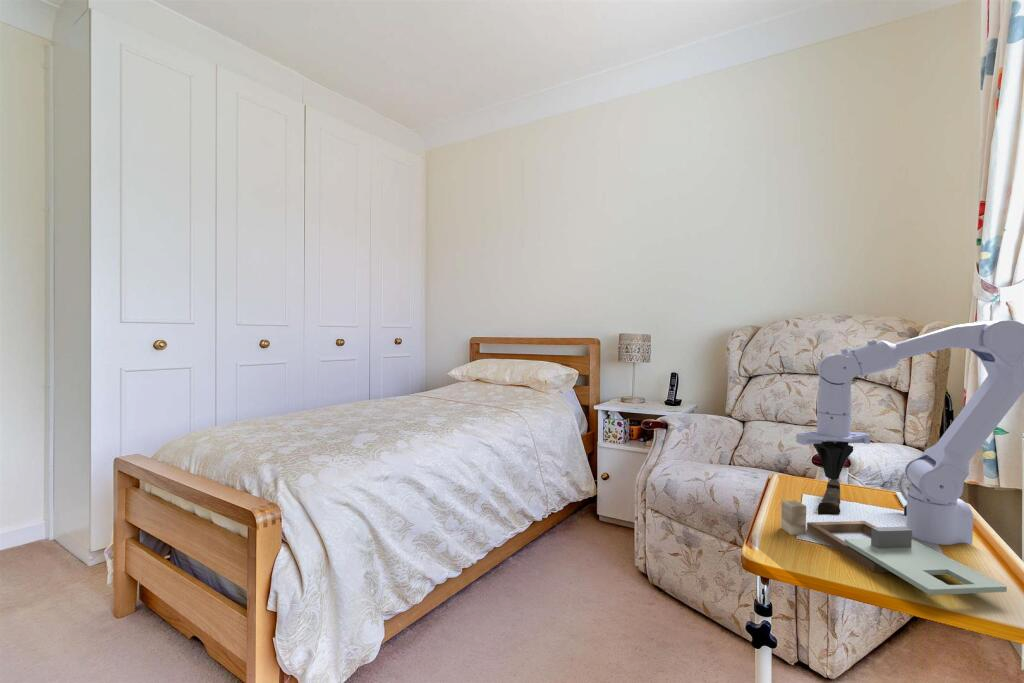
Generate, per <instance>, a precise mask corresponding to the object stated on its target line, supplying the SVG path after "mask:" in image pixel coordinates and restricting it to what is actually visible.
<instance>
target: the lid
mask: <svg viewBox="0 0 1024 683" xmlns="http://www.w3.org/2000/svg"><path fill="white" fill-rule="evenodd" d="M870 536H871V537H868V538H867V537H866V538H845V539H844V541H845V542H844V544H846V545H848V546H849V547H851V548H853V549H854V550H856V551H858V552H859V553H861V554H863V555H864V556H866V557H867V558H869V559H871V560H872V561H874V562H876V563H877V564H879V565H881V566H882V567H884V568H886V569H887V570H889V571H891V572H890V573H892V574H894V575H896V576H898V577H899V578H900V579H902V580H904V581H906V583H907V582H908V583H909V584H911V585H912V586H914V588H917V589H918V590H921V591H922V592H924V594H927V595H929V596H935V595H938V596H939V595H941V596H942V595H962V594H963V595H965V594H966V595H967V594H989V593H1007V589H1008V588H1007V585H1004V584H1002V583H1001V582H998V581H997V580H995V579H992V578H991V577H988V576H987V575H985V574H982V573H981V572H978V571H976V570H975V569H973V568H971V567H969V566H967V565H965V564H964V563H963V564H962V563H960V562H959V561H956V560H955V559H952V558H951V557H949V556H947V555H944V554H943V553H941V552H938V551H937V550H935V549H933V548H930V547H928V546H927V545H925V544H923V543H920V542H919V541H916V540H914V539H913V536H912V530H910V529H908V528H906V526H882V527H881V526H880V527H877V526H876V527H872V529H871V535H870ZM940 575H942V576H943V575H944V576H945V575H947V576H949V577H951V578H953V579H955V580H957V581H959V582H961V583H963V584H947V582H946V583H945V582H944V581H943V580H941V579H938V578H937V577H935V576H940Z"/></svg>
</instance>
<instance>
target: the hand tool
mask: <svg viewBox="0 0 1024 683" xmlns="http://www.w3.org/2000/svg"><path fill="white" fill-rule="evenodd" d="M840 504H841V484H840V481H839V479H838V480H832V479H829V481H828V482H827V483H826V489H825V492H824V495H823V497H822V500H821V502H819V503H818V506H817V514H818V516H823V515H825V516H826V515H827V516H828V515H829V516H830V515H834V516H835V515H841V508H840Z"/></svg>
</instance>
